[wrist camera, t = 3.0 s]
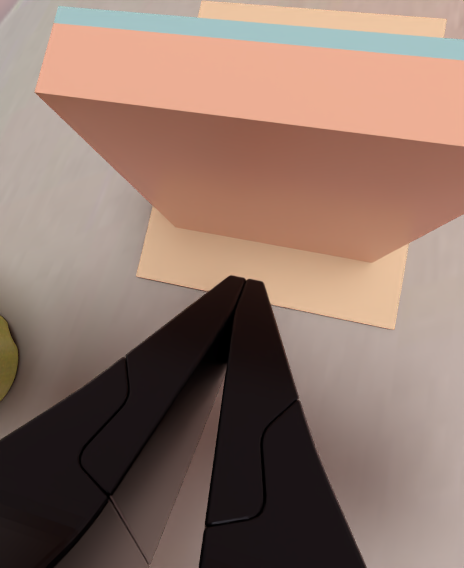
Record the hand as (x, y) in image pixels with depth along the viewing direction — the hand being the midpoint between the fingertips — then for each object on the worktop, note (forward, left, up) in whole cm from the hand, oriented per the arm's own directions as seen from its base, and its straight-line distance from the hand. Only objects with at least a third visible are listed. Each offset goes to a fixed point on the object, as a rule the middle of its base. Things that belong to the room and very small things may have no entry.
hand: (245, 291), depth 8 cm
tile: (+3, +3, -8) cm, 9 cm away
